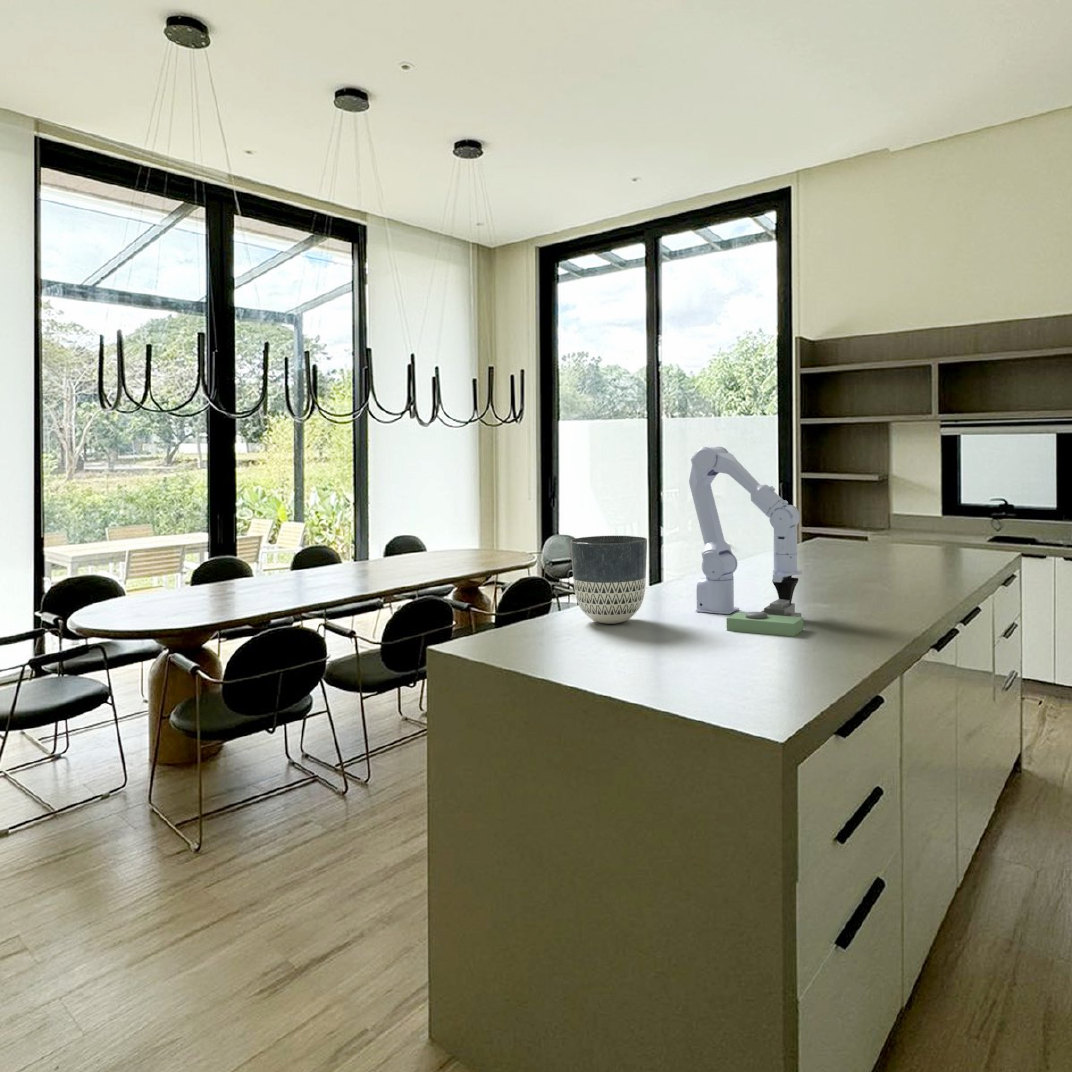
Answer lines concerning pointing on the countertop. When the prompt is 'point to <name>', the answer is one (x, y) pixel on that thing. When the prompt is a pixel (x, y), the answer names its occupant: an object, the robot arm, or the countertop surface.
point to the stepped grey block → (780, 608)
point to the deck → (765, 623)
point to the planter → (609, 576)
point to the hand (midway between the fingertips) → (785, 606)
